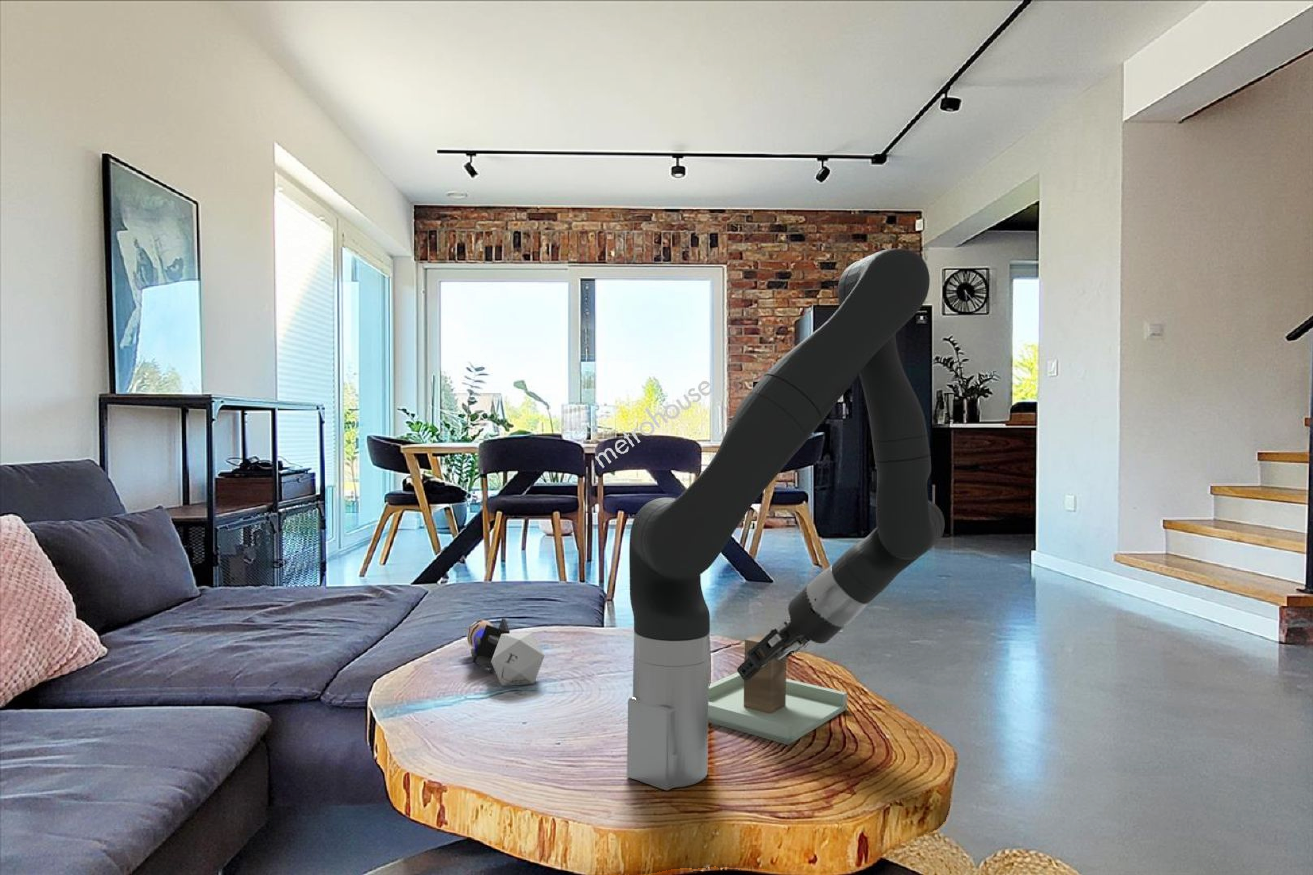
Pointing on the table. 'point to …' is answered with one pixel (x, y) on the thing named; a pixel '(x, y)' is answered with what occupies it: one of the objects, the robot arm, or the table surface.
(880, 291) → the robot arm
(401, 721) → the table surface
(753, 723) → the tray
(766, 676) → the block
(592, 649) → the table surface
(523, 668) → the die
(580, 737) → the table surface
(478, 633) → the character figurine
